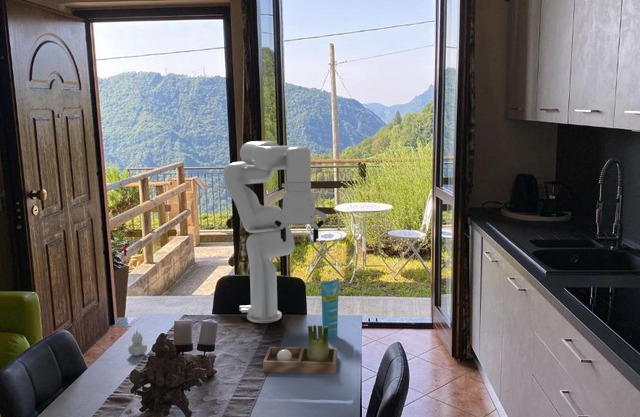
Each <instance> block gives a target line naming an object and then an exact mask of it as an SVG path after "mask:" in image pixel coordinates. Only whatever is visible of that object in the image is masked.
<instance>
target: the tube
mask: <svg viewBox="0 0 640 417" xmlns="http://www.w3.org/2000/svg"><path fill="white" fill-rule="evenodd" d="M339 287H340V278H337V279H333V280H331V281H326V282H321V283H320V290H321V315H322V317H321V320H322V321H321V322H322V325H321V326H322V334H324V326H327V327H328V340H329V339H331V340H333V339H334V340H335V339H337V338H338V325H339V322H338V317H339V290H340V289H339Z"/></svg>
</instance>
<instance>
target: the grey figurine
mask: <svg viewBox="0 0 640 417" xmlns="http://www.w3.org/2000/svg"><path fill="white" fill-rule="evenodd" d="M143 340H144V339H143V335H142V334H141V332H139V331H138V330H136V332H134V333H133V335H132V337H131V341H132V343H131V344H130V345H129V346H128V353H129V354H130V355H132V356H135V357H136V356H137V357H139V356H142V355H144V354H145V353H146V352H147V350H148V345H147V344H146V342H144V341H143Z"/></svg>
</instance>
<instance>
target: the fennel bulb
mask: <svg viewBox="0 0 640 417" xmlns="http://www.w3.org/2000/svg"><path fill="white" fill-rule="evenodd" d="M307 331H308V332H307V333H308V340H307V342H308V343H307V359H308V362H327V359H328V354H329V348H330V347H329V346H330V345H329V339H328V327H327V326H324V334H323V330H322V325H320V324H318V325H317V324H314V325H310V324H309V325H307Z"/></svg>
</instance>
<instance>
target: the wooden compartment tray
mask: <svg viewBox="0 0 640 417" xmlns="http://www.w3.org/2000/svg"><path fill="white" fill-rule="evenodd" d="M307 347H308V346H307ZM307 347H304V346H303V347H299V346H298V347H297V346H293V347H292V346H269V347H268V349H267V352H266V354H265V356H264V357H263V358H264V359H263V362H262V366H263V367H262V368H263V369H262V371H263V373H286V374H287V373H289V374H290V373H294V374H295V373H297V374H300V373H301V374H333V375H335V374H336V371H337V362H338V348H337V347H329V354H328V359H327V362H308V359H307ZM282 349H287V350H289V351H290V352H291V354H292V360H291V361H278V360H277V354H278V352H279V351H280V350H282Z"/></svg>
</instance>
